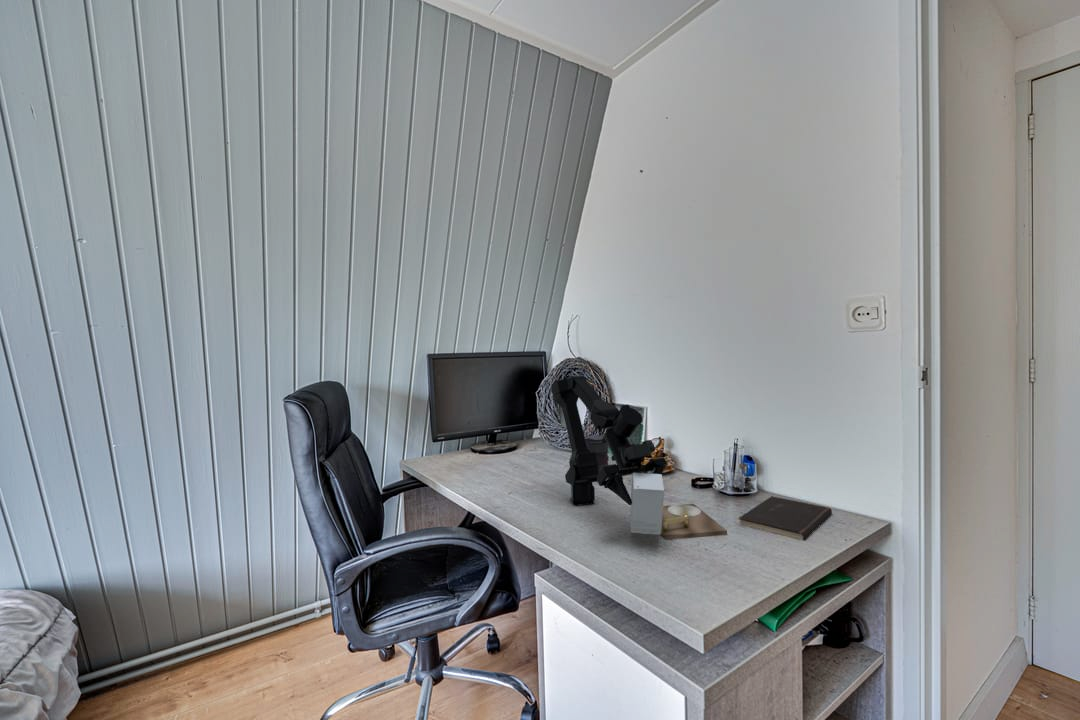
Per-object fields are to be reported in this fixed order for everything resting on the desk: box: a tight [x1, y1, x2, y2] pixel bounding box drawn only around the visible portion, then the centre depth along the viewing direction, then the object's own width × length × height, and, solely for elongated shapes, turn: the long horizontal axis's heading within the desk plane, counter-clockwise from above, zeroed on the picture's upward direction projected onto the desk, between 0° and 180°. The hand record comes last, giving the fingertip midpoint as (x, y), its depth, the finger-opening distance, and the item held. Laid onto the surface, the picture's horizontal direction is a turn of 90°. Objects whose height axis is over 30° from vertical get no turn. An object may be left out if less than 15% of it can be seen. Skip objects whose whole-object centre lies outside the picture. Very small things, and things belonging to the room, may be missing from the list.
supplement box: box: [629, 472, 665, 535], centre depth 120 cm, size 7×7×13 cm
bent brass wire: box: [663, 508, 689, 532], centre depth 127 cm, size 12×4×3 cm, turn 137°
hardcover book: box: [737, 495, 833, 541], centre depth 132 cm, size 16×23×2 cm
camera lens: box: [585, 434, 609, 472], centre depth 174 cm, size 8×8×15 cm
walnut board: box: [660, 503, 728, 540], centre depth 132 cm, size 16×20×1 cm
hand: (647, 501), depth 120 cm, fingers closed on supplement box, 9 cm apart
